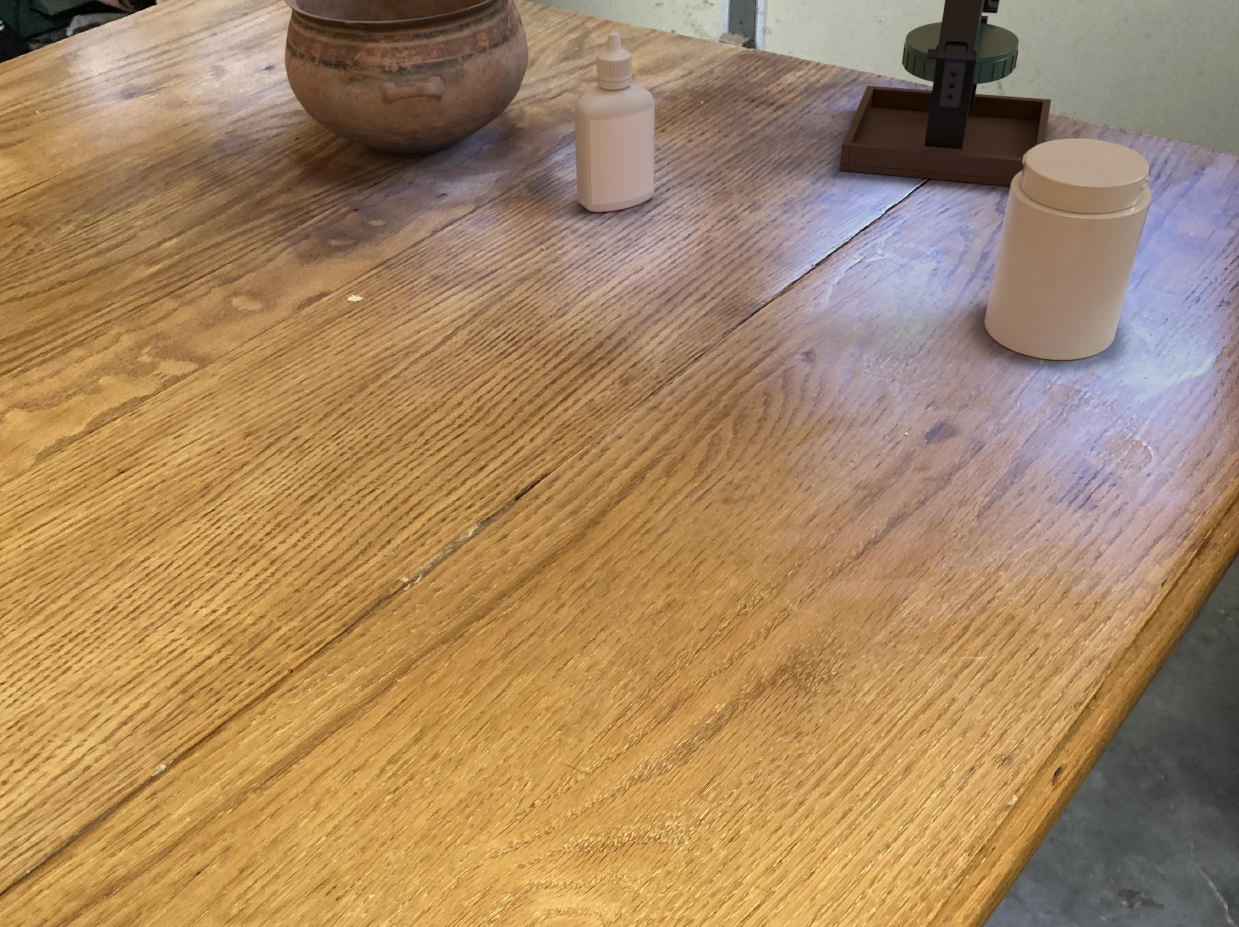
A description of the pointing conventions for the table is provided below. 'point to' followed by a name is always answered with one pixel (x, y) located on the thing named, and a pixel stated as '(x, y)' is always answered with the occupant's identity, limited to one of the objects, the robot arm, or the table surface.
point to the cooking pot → (405, 68)
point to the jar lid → (992, 42)
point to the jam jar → (1068, 248)
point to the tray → (896, 139)
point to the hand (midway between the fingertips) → (950, 123)
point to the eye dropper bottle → (615, 136)
